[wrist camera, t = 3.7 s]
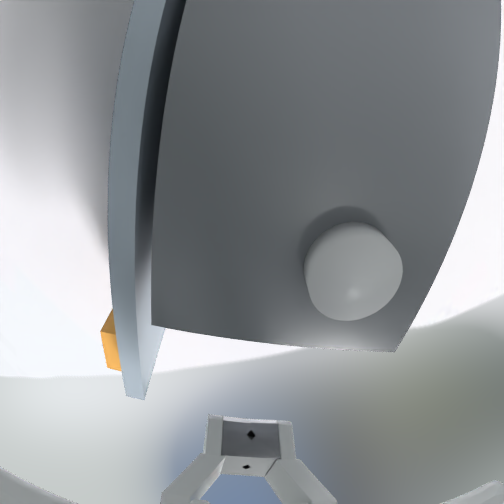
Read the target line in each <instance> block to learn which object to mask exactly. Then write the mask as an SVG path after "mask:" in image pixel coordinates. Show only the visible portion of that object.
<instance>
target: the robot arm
mask: <svg viewBox="0 0 504 504" xmlns="http://www.w3.org/2000/svg"><path fill="white" fill-rule="evenodd" d="M220 474H231V475H247V476H262V477H263V476H264V477H265V479H266V481H267V482H268V483H269V485H270V486H271V488H272V489H273V491H274V492H275V494H276V495H277V497H278V498H279V499H280V501H281V502H282V504H337V500H336V499H335V498H334V497H333V496H332V495H331V494H330V492H328V490H327V489H326V488H325V487H324V486H323V485H322V484H321V483H320V482H319V480H317V478H316V477H315V476H314V475H313V474H312V473H311V472H310V471H309V469H308V468H307V467H306V466H305V465H304V464H303V462H302V461H301V460H300V459H296V454H295V445H294V437H293V428H292V423H291V422H290V421H276V420H259V419H258V420H257V419H244V418H234V417H224V416H218V415H210V414H209V415H208V421H207V426H206V433H205V441H204V451H203V453H200V454H199V456H198V457H197V458H196V459H195V460H194V461H193V462H192V463H191V464H190V465H189V466H188V467H187V468H186V469H185V470H184V471H183V472H182V473H181V474H180V475H179V476H178V477H177V478H176V479H175V480H174V481H173V482H172V483H171V485H169V487H167V488H166V489H165V490H164V491H163V492H162V496H161V502H160V504H210V503H209V502H208V501H205V500H199V499H200V498H201V497H202V496H203V495H204V493H205V492H206V491H207V490H208V489H209V487H210V486H211V485H212V484H213V483H214V481H215V480H216V479H217V478H218V476H219V475H220ZM0 504H78V503H75V502H72V501H70V500H67V499H65V498H62V497H60V496H58V495H55V494H53V493H51V492H49V491H46V490H44V489H42V488H40V487H38V486H35V485H34V484H32V483H30V482H27V481H26V480H24V479H22V478H20V477H18V476H16V475H14V474H13V473H11V472H9V471H7V470H5V469H4V468H2V467H0ZM441 504H504V484H503V483H502V482H500V481H498V480H493V481H491V482H488V483H486V484H484V485H483V486H480V487H478V488H476V489H474V490H472V491H470V492H467V493H465V494H463V495H461V496H458V497H456V498H453V499H451V500H449V501H446V502H444V503H441Z"/></svg>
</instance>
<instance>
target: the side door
mask: <svg viewBox="0 0 504 504" xmlns="http://www.w3.org/2000/svg"><path fill="white" fill-rule="evenodd" d="M185 4H186V0H135V1H134V4H133V8H132V12H131V16H130V20H129V24H128V29H127V33H126V38H125V42H124V47H123V52H122V58H121V63H120V69H119V75H118V81H117V88H116V95H115V103H114V111H113V121H112V131H111V143H110V157H109V177H108V248H109V268H110V283H111V295H112V305H113V309H112V311H111V312H110V314H109V316H108V318H107V320H106V322H105V324H104V325H103V327H102V329H101V331H100V332H101V337H102V343H103V348H104V353H105V358H106V363H107V368H110V369H114V370H118V371H122V376H123V381H124V387H125V391H126V396H129V397H132V398H137V399H141V400H144V399H145V396H146V392H147V389H148V385H149V382H150V378H151V375H152V371H153V368H154V364H155V361H156V358H157V354H158V351H159V348H160V344H161V341H162V338H163V334H164V331H165V328H164V327H159V326H154V325H151V260H152V233H153V215H154V200H155V187H156V176H157V166H158V156H159V147H160V139H161V131H162V123H163V116H164V109H165V103H166V96H167V90H168V84H169V78H170V73H171V67H172V62H173V57H174V52H175V47H176V42H177V38H178V33H179V29H180V24H181V20H182V16H183V12H184V8H185Z"/></svg>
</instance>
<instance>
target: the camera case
mask: <svg viewBox="0 0 504 504" xmlns="http://www.w3.org/2000/svg"><path fill="white" fill-rule="evenodd" d="M500 33H501V0H186V4H185V8H184V12H183V16H182V20H181V24H180V29H179V33H178V38H177V42H176V47H175V52H174V57H173V62H172V67H171V73H170V78H169V84H168V90H167V96H166V103H165V109H164V116H163V123H162V131H161V139H160V147H159V156H158V166H157V176H156V187H155V200H154V215H153V233H152V260H151V325H154V326H159V327H164V328H169V329H175V330H181V331H186V332H192V333H198V334H204V335H211V336H217V337H224V338H231V339H238V340H246V341H254V342H262V343H270V344H280V345H289V346H300V347H311V348H324V349H338V350H354V351H377V352H378V351H379V352H395V351H396V349H397V348H398V346H399V344H400V343H401V341H402V339H403V337H404V336H405V334H406V332H407V331H408V329H409V327H410V326H411V324H412V322H413V320H414V318H415V317H416V315H417V313H418V311H419V309H420V307H421V305H422V304H423V302H424V300H425V298H426V296H427V294H428V292H429V290H430V288H431V286H432V284H433V282H434V280H435V278H436V276H437V273H438V271H439V269H440V267H441V265H442V263H443V260H444V258H445V256H446V254H447V251H448V249H449V247H450V244H451V242H452V239H453V237H454V234H455V232H456V229H457V227H458V224H459V222H460V219H461V216H462V214H463V211H464V208H465V205H466V202H467V200H468V197H469V194H470V191H471V188H472V184H473V181H474V178H475V175H476V171H477V168H478V164H479V161H480V157H481V153H482V150H483V146H484V142H485V138H486V133H487V129H488V124H489V120H490V115H491V109H492V104H493V98H494V92H495V85H496V78H497V70H498V61H499V50H500Z"/></svg>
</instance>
